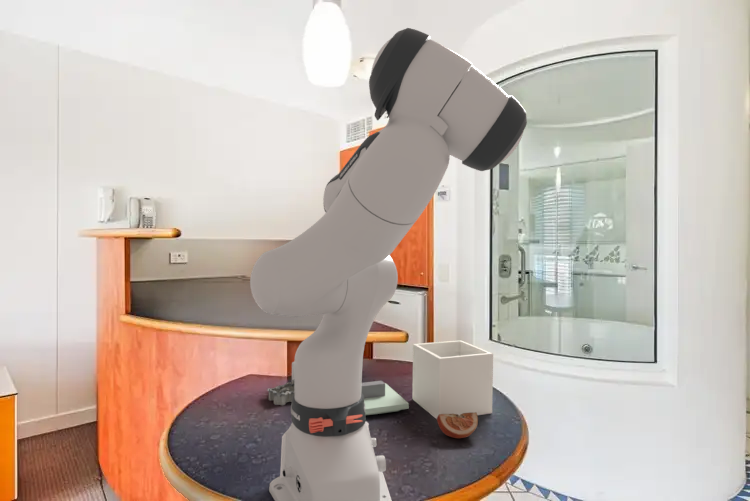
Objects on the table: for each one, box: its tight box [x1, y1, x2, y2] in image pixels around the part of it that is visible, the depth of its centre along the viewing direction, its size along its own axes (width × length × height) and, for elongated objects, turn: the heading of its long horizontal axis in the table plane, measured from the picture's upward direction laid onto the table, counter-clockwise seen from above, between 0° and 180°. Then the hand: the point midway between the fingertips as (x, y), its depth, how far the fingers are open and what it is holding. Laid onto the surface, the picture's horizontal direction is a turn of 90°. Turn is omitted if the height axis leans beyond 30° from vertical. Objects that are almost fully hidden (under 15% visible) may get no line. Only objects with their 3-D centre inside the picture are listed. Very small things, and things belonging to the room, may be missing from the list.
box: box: [411, 339, 494, 420], centre depth 103 cm, size 14×14×14 cm
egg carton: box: [266, 379, 294, 406], centre depth 108 cm, size 11×8×4 cm
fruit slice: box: [436, 412, 479, 439], centre depth 87 cm, size 8×7×5 cm
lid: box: [361, 380, 410, 416], centre depth 103 cm, size 15×15×5 cm
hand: (368, 294), depth 103 cm, fingers open, 8 cm apart
